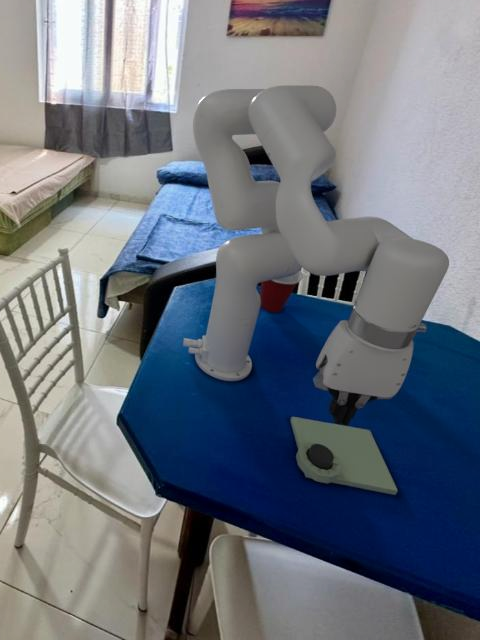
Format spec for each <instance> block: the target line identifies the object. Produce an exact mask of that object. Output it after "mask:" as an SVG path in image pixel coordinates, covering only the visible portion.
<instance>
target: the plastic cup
mask: <svg viewBox="0 0 480 640" xmlns="http://www.w3.org/2000/svg"><path fill="white" fill-rule="evenodd" d="M303 279H304V275H303V272H302V271H301V270H300V271H299V272H298V273H296V274H294V275H292V276H289V277H284V278H279V279H273V280H268V281H264V282H260V298H261V306H260V308H262V309H263V310H265V311H267V312H272V313H279V312H281V311H282V310H283V309H284V307H285V305H286V303H287V302H288V300H289V299H290V296H291V295H292V294H293V292H294V289H295V287H296V286H297V285H298V284H299V283H300V282H301V281H302V280H303Z"/></svg>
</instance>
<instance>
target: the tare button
mask: <svg viewBox="0 0 480 640" xmlns="http://www.w3.org/2000/svg"><path fill="white" fill-rule="evenodd" d="M308 459H309V461H310V462H311V463H312V464H313V465H314V466H316V467H317V468H320V469H328V468H330V466H331V464H332V462H333V460H334V456H333V453H332V452H331V451H330V449H328V448H327V447H326V446H324V445H321V444H313V445H312V446H311V448H310V450H309V452H308Z"/></svg>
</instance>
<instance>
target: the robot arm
mask: <svg viewBox="0 0 480 640" xmlns="http://www.w3.org/2000/svg"><path fill="white" fill-rule="evenodd" d="M336 115H337V103H336V101H335V98H334V96H333V94H332V93H331V92H330V91H329V90H328V89H326V88H324V87H322V86H320V85H313V84H312V85H310V84H309V85H308V84H307V85H301V84H300V85H297V84H296V85H290V84H289V85H275V86H272V87H271V86H270V87H268V88H228V89H227V88H226V89H220V90H216V91H212V92H210V93H208V94H206V95H204V96H203V97H202V98H201V99H200V100H199V102H198V104H197V105H196V107H195V110H194V114H193V121H192V133H193V139H194V143H195V146H196V148H197V151H198V153H199V156H200V158H201V161H202V163H203V166H204V168H205V173H206V179H207V184H208V189H209V194H210V198H211V203H212V208H213V213H214V217H215V220H216V223H217V225H218V226H219V227H220V228H221V229H223V230H225V231H244V230H252V229H260V230H261V233H255V234H249V235H242V236H236V237H233V238H230V239H228V240H226V241H224V242H223V243H222V244H221V245H220V246H219V248H217V252H216V256H215V267H216V268H215V269H216V270H215V271H216V273H215V285H214V291H213V297H212V303H211V308H210V312H209V318H208V323H207V328H206V334H205V335H204V334H203V335H202V338H197V339H192V338H185V337H183V342H182V347H185V348H188V351H187V352H188V354H191V355H194V359H195V363H196V364H197V366H198V367H199V368H200V369H201V370H202V371H203V372H204V373H205V374H207V375H209V376H211V377H213V378H214V379H217V380H221V381H225V382H237V381H241V380H243V379H245V378H248V376H249V375H250V374H251V372H252V368H253V362H252V359H251V357H250V355H249V351H250V347H251V343H252V340H253V336H254V332H255V329H256V325H257V320H258V317H259V313H260V311H261V310H260V309H261V294H260V293H259V291H258V289H257V286H258V285H259V284H261V282H264V281H268V280H273V279H279V278H284V277H289V276H292V275H294V274H296V273H298V272H299V271H301V270H302V268H303V269H304V271H306V272H308V273H310V274H312V275H315V276H317V277H329V276H337V275H342V274H347V273H352V272H366V273H365V276H364V278H363V280H362V283H361V286H360V287H359V290H358V292H357V295H356V298H355V300H354V303H353V305H352V307H351V311H350V312H349V315H348V318H347V319H342V320H340V321H339V322H338V323H337V325H335V327H334V328H333V330H332V331H331V333H330V334H329V336H328V337H327V339H326V341H325V342H324V345H323V347H322V348H321V350H320V353H319V355H318V357H317V359H316V362H315V366H316V369H317V370H319V371H318V372H317V373H316V374H315V376H314V377H313V378H312V382H313V385H314V387H315V388H317V389H319V390H323V391H327V392H328V393H329V394H330V395H331V397H332V398H331V401H330V403H329V405H328V413H329V415H330V416H332V419H333V421H334V424H337V425H343V426H350V422H351V421H352V419H354V417H355V415H356V413H357V411H358V409H362V408H364V407H365V406H366V404H368V403H370V402H372V401H373V402H374V401H375V400H391V399H393V398H394V397H395V396H396V395H397V394H398V393H399V391H400V389H401V387H402V386H403V384H404V382H405V379H406V376H407V375H408V372H409V369H410V366H411V362H412V358H413V353H414V345H415V343H414V338H415V336H416V334H425V333H426V332H427V329H428V328H427V325H426V324H425V323H422V321H423V319H424V317H425V315H426V313H427V311H428V310H429V307H430V305H431V304H432V301H433V299H434V297H435V296H436V293H437V292H438V290H439V288H440V285H441V284H442V282H443V280H444V279H445V276H446V274H447V271H449V270H448V269H449V267H450V259H449V255H447V254H446V252H445V251H444V250H443V249H441V248H439V247H438V246H436V245H434V244H432V243H430V242H426V241H424V240H420V239H416V238H413V237H411V236H410V235H408V234H407V233H406V232H404V231H403V230H401V229H400V228H398V227H397V226H396V225H394V224H393V223H391V222H390V221H388V220H386V219H384V218H381V217H378V216H360V217H359V216H358V217H353V218H351V217H350V218H342V219H333V220H326V219H325V217H324V215H323V214H322V212H321V211H320V209H319V207H318V206H317V203H316V201H315V199H314V197H313V193H312V182H313V181H315V180H317V179H318V178H320V177H321V176H322V175H324V174H325V173H326V172H328V170H329V169H330V168H331V167H332V165H333V164H334V163H335V161H336V157H337V152H336V148H335V147H334V146H333V144H332V143H331V141H330V140H329V138H328V137H327V135H326V133H325V132H327V130H329V129H330V128H331V127H332V125H333V124H334V122H335V119H336ZM246 135H248V136H249V135H256V138H257V139H258V140H259V142H260V145H261V146H262V148H263V150H264V151H265V153H266V156H267V157H268V159H269V160H270V162H271V164H272V166H273V167H274V169H275V171H276V173H277V175H278V176H279V179H280V181H275V180H255V179H254V177H253V175H252V170H251V164H250V161H249V158H248V156H247V154H246V153H245V151H244V150H243V149H242V147H241V146H240V145H239V144H238V142H236V141H235V140H234V139H233V136H246Z"/></svg>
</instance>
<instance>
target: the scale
mask: <svg viewBox="0 0 480 640" xmlns="http://www.w3.org/2000/svg"><path fill="white" fill-rule="evenodd" d="M290 424H291V428H292V431H293V432H292V433H293V435H294V439H295V442H296V448H297V452H296V455H295V459H296V463H297V466H298V468H299V469H300V470H301V471H302V473H304V477H305V478H306V479H307V478H308V479H311V480H313V481H315V482H319V483H322V484H327V485H328V484H330V483H332V484H337V485H343V486H347V487H352V488H356V489H357V488H358V489H362V490H368V491H374V492H378V493H382V494H389V495H392V496H393V495H394V496H396V495H397V493H398V487H397V485H396V484H395V482H394V479H393V477H392V475H391V473H390V471H389V469H388V466H387V464H386V462H385V459H384V458H383V456H382V453H381V451H380V448H379V447H378V445H377V443H376V441H375V439H374V435H373V434H372V432H371V430H370V429H367V428H366V429H365V428H360V427H353V426H350V425H348V426H344V425H343V424H340V425H339V424H335V423H330V422H324V421H319V420H313V419H309V418H302V417H296V416H291V417H290ZM313 444H321V445H324V446H326V447H327V448H328V449H330V451H331V452H332V453H333V456H334V460H333V462H332V464H331V466H330V468H328V469H320V468H317V467H316V466H314V465H313V464H312V463H311V462H310V461H309V459H308V452H309V450H310V448H311V446H312V445H313Z"/></svg>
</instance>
